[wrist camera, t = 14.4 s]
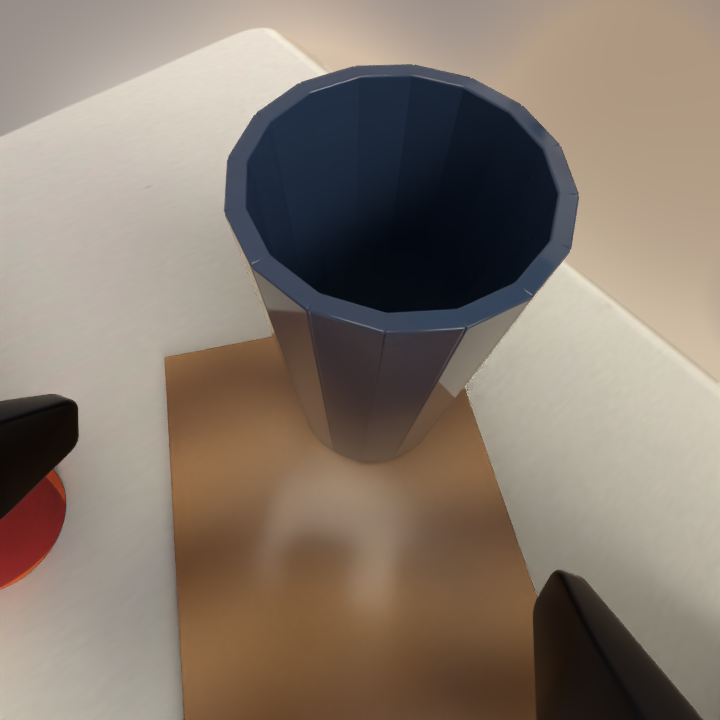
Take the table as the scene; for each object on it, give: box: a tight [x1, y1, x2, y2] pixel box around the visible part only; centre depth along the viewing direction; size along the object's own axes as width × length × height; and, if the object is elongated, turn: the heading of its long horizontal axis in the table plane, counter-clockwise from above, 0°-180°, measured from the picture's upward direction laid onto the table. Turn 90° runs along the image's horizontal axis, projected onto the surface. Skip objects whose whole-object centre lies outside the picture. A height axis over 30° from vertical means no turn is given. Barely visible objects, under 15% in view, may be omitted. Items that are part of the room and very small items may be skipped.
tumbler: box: [224, 64, 579, 462], centre depth 14 cm, size 7×7×13 cm
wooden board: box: [165, 337, 537, 720], centre depth 18 cm, size 20×14×1 cm
